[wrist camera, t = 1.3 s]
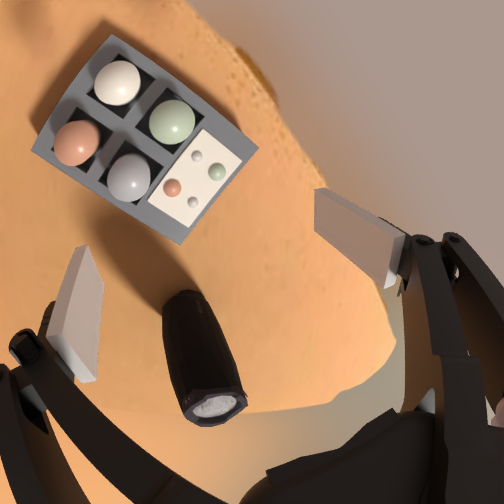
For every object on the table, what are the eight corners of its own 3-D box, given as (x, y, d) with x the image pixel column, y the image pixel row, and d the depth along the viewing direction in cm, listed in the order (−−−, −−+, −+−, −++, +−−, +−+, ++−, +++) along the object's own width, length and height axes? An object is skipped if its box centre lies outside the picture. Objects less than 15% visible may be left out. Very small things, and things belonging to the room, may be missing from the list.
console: (43, 144, 25) (29, 150, 21) (116, 43, 22) (111, 33, 18) (176, 230, 37) (180, 246, 33) (246, 143, 35) (260, 148, 31)
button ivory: (94, 92, 22) (85, 90, 19) (119, 60, 22) (115, 52, 18) (123, 112, 25) (119, 113, 21) (149, 81, 24) (149, 76, 20)
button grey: (105, 177, 27) (99, 187, 24) (127, 144, 27) (123, 149, 23) (135, 196, 30) (134, 209, 26) (157, 165, 29) (159, 174, 25)
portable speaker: (191, 335, 47) (221, 432, 31) (147, 313, 42) (162, 421, 26) (223, 303, 46) (267, 400, 30) (179, 276, 41) (209, 384, 25)
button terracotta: (59, 146, 24) (46, 152, 20) (80, 112, 23) (69, 113, 19) (87, 165, 26) (78, 174, 22) (109, 132, 25) (102, 135, 22)
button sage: (141, 125, 26) (139, 127, 23) (166, 94, 26) (169, 91, 22) (171, 147, 29) (175, 153, 25) (196, 117, 28) (204, 117, 24)
